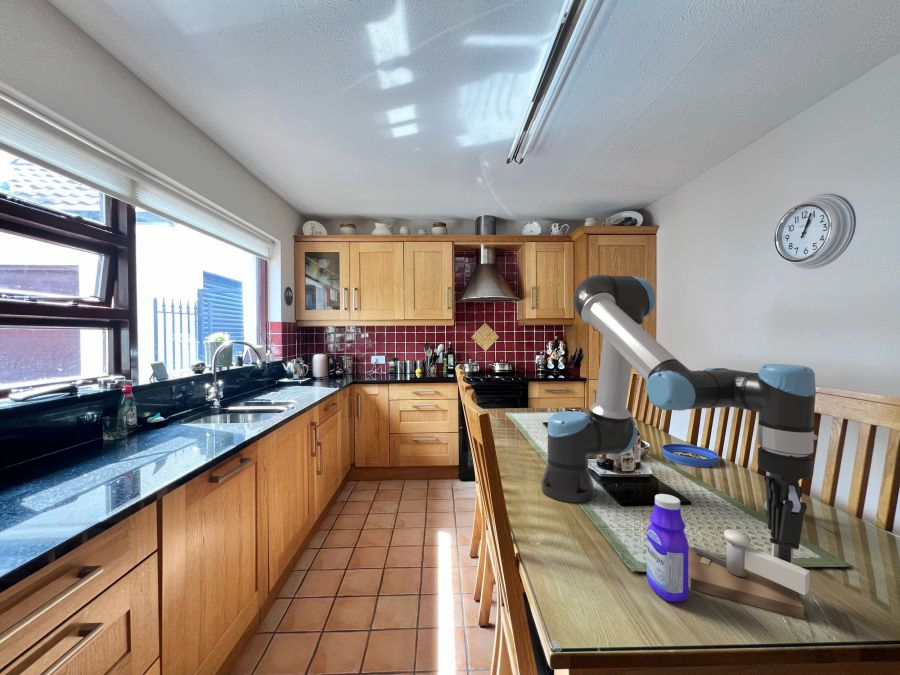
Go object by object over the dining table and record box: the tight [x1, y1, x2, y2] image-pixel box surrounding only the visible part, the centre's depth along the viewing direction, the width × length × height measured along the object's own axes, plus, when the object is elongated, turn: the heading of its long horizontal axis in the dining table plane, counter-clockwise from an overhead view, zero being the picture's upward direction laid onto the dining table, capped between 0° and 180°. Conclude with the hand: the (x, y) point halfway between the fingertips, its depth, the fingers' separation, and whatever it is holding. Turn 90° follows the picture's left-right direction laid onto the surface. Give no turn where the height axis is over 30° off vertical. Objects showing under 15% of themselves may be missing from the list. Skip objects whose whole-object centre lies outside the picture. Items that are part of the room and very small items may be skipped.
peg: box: [693, 529, 810, 596], centre depth 70 cm, size 18×4×7 cm, turn 33°
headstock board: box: [688, 546, 805, 620], centre depth 71 cm, size 16×12×2 cm
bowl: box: [661, 443, 719, 468], centre depth 141 cm, size 18×18×4 cm
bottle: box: [646, 493, 690, 603], centre depth 69 cm, size 7×6×17 cm
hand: (781, 577), depth 68 cm, fingers closed
